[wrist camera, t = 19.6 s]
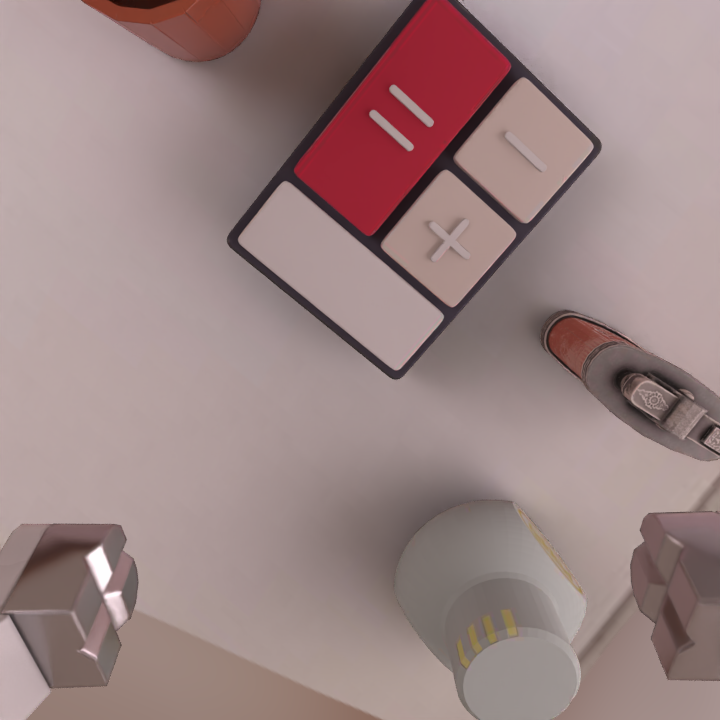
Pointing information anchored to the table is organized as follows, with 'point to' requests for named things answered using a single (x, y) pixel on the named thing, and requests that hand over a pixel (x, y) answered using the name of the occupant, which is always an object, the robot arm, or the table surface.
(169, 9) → the cup
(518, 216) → the calculator
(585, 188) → the table surface
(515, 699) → the air freshener
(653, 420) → the lighter
